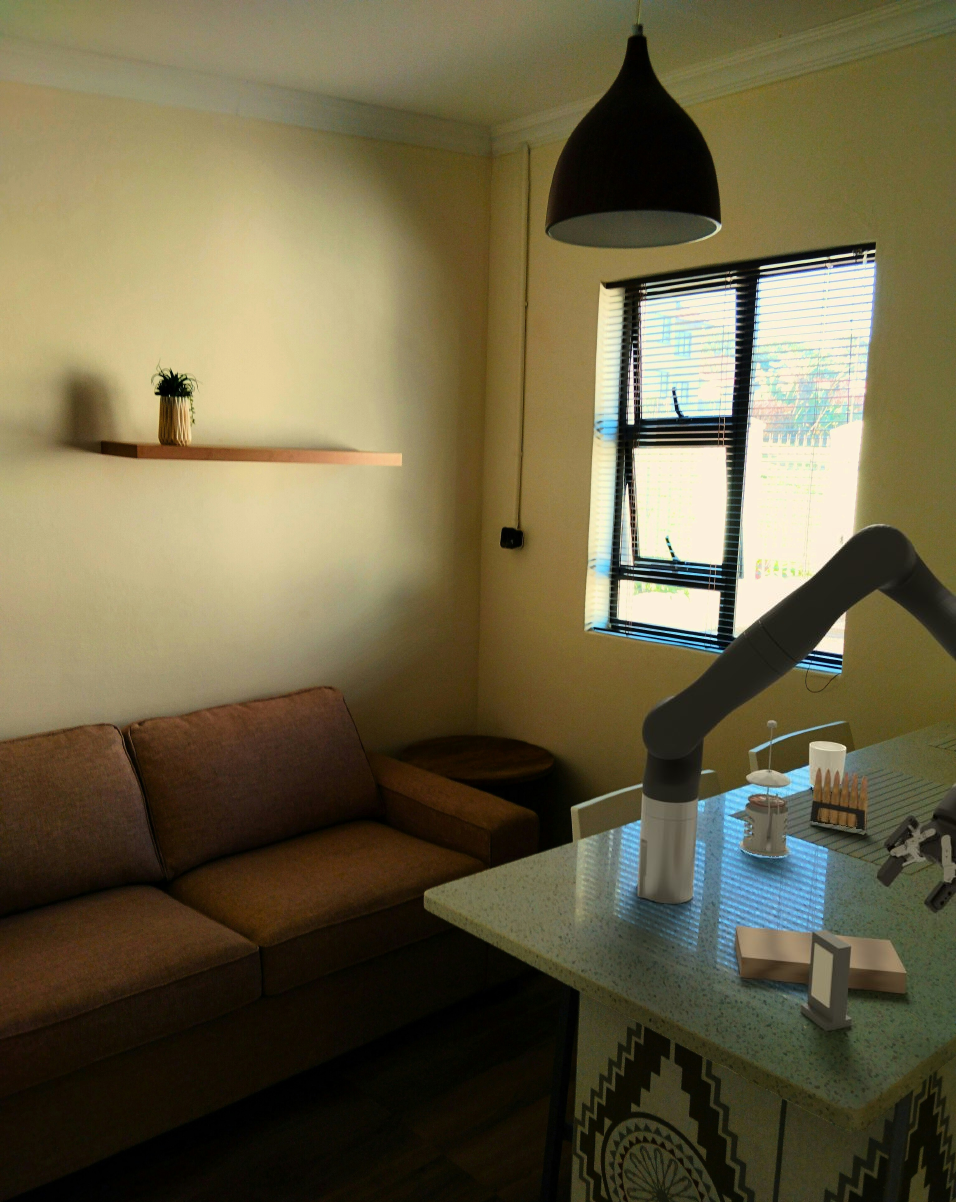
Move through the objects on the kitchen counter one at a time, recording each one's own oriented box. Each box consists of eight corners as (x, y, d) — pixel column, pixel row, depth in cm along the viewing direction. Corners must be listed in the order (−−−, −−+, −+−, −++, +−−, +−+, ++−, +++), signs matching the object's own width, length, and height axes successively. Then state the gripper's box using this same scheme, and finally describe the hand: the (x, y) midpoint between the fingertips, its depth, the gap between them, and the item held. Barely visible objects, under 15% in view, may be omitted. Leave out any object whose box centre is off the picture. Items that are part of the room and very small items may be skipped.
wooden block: (740, 977, 143) (742, 957, 143) (734, 945, 153) (735, 926, 152) (905, 993, 139) (906, 973, 139) (888, 959, 149) (889, 940, 149)
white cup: (846, 787, 232) (849, 745, 231) (838, 796, 225) (841, 752, 224) (811, 781, 236) (814, 739, 235) (802, 790, 229) (805, 746, 228)
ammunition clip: (866, 833, 203) (870, 774, 201) (864, 835, 201) (868, 777, 199) (811, 822, 208) (815, 765, 207) (809, 824, 207) (813, 767, 205)
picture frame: (826, 1031, 130) (832, 949, 128) (800, 1011, 134) (806, 932, 133) (851, 1026, 131) (857, 945, 130) (825, 1006, 136) (831, 928, 134)
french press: (785, 841, 197) (793, 715, 193) (798, 864, 185) (807, 730, 182) (733, 838, 198) (741, 713, 194) (743, 861, 186) (751, 728, 183)
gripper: (924, 771, 143) (852, 859, 140) (1009, 803, 129) (931, 900, 127) (950, 804, 145) (880, 891, 142) (1036, 838, 132) (960, 935, 129)
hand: (904, 895), depth 135 cm, fingers open, 8 cm apart
